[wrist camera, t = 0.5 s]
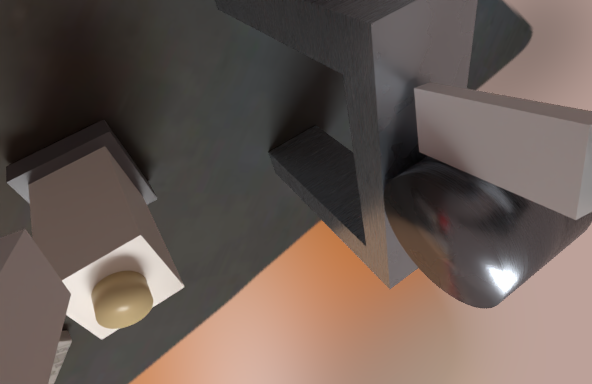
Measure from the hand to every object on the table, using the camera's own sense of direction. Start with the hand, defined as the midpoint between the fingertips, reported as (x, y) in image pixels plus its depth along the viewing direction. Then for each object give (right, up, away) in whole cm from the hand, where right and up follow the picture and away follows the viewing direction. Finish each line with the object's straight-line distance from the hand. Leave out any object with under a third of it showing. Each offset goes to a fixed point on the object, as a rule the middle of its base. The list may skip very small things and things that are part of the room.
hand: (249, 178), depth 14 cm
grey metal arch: (0, +8, +15) cm, 17 cm away
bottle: (-12, 0, +11) cm, 16 cm away
